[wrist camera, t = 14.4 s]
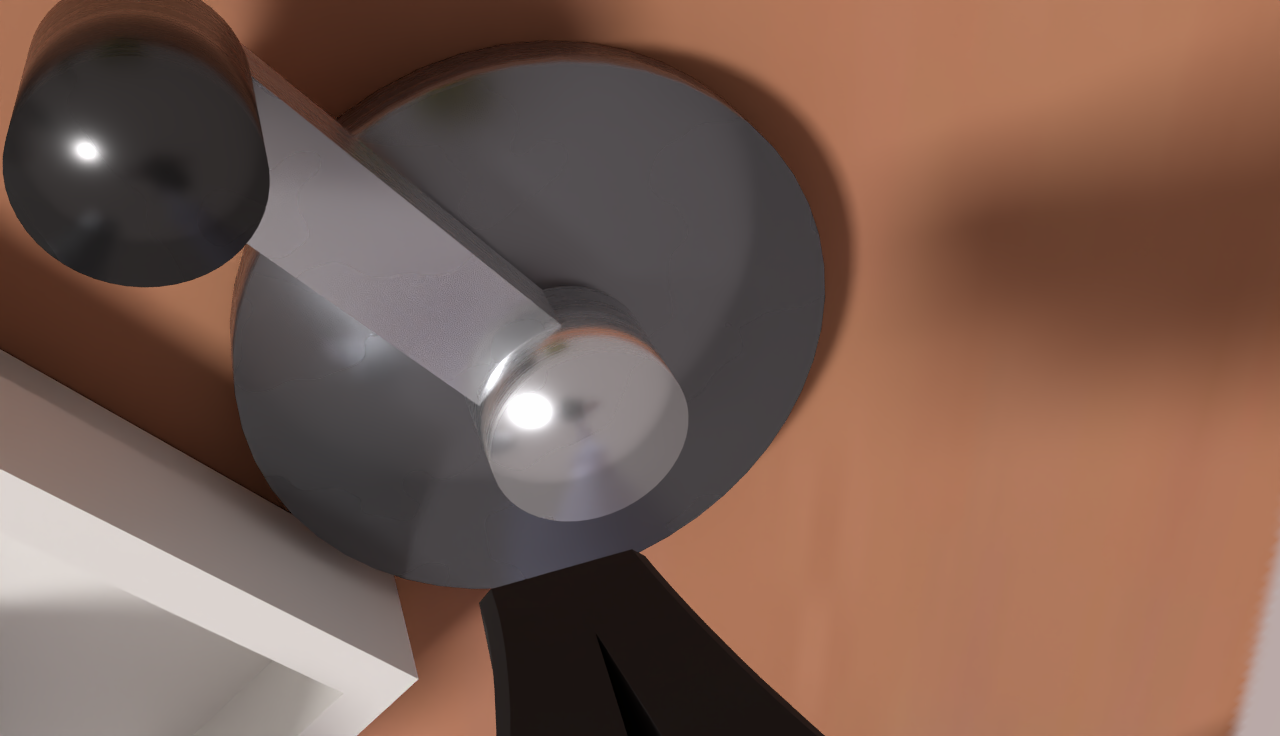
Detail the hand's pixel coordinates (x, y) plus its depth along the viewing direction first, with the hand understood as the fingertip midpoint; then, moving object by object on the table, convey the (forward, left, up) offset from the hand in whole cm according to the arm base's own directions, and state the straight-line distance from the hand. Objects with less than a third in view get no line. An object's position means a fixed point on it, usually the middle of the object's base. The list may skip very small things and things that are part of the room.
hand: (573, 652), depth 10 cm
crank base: (-3, 0, -9) cm, 9 cm away
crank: (+1, 0, -7) cm, 7 cm away
